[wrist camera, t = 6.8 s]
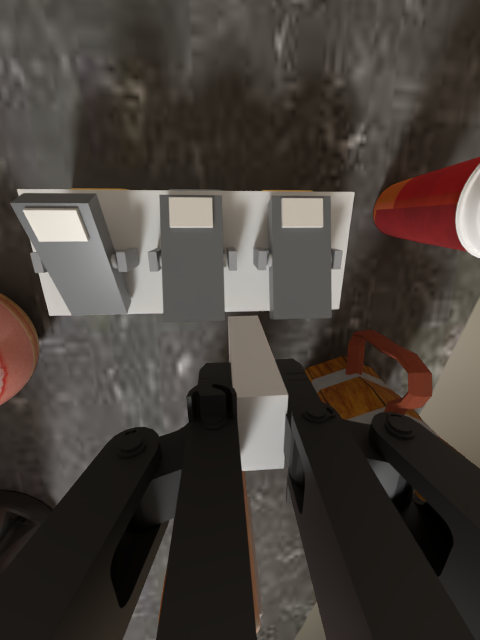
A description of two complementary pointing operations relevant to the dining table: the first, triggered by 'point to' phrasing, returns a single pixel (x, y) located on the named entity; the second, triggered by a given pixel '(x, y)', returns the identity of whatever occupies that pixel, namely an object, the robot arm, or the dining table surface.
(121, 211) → the console
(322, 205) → the rocker
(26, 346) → the vase
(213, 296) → the rocker
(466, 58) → the dining table surface
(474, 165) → the paper cup
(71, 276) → the rocker
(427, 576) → the robot arm
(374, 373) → the mug
